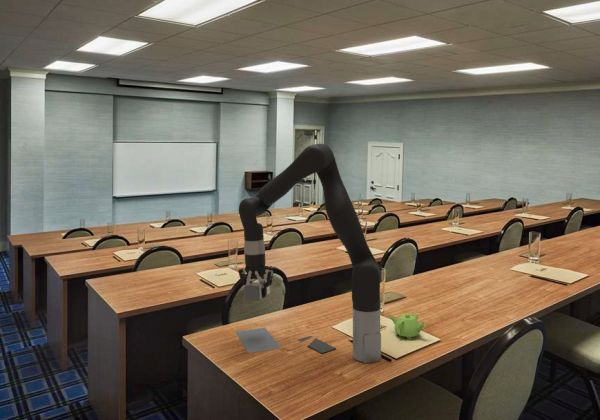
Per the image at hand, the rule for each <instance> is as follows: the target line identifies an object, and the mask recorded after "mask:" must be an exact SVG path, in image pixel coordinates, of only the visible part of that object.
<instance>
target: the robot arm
mask: <svg viewBox="0 0 600 420" xmlns="http://www.w3.org/2000/svg"><path fill="white" fill-rule="evenodd" d="M333 152H334V151H332V149H331V148H330V146H328V145H327V144H325V143H315V144H310V145H308V146H306V147H305V148H304V149H303V150H302V152H300V153H299V155H297V157H296V158H295V159H294V161H292V163H290V165H289V166H287V167H286V168H285V169H284V170H282V171H281V172H280V173H279V174H277V175H276V176H275V177H273V178H272V179H270V180H269V181H268V182H266V184H264V185H263V186H262V187H261V188H259V190H258V194H256V195H255V196H252V197H246V198H244V199H242V200H241V201H240V203H239V205H238V214H239V215H238V216H239V218H240V221H241V226H242V228H243V236H244V237H243V239H244V242H243V243H244V244H243V247H244V248H243V249H244V251H243V252H244V265H245V267H241V268H240V269H237V272H238V276H239V279H240V282H241V285H242V286H244V287H245V286H247V285H249V284H250V283H252V282H254V281H255V280H258V281H259V283H260V284H261V287H262V288H261V294H262V299H265V298H266V297H267V296H268V295H267V287H269V286H270V287H271V286H272V284H273V278H274V274H275V273H274V270H273V269H271V270H270V269H267V267H266V246H265V239H264V238H265V237H264V227H263V224H262V223H260V222H258V220H257V217H259V216H261V215H263V214H264V213H265V212H267V211H269V209H270V208H271V206H272V205H273V204H275V203H277V201H279V200H280V199H281V198H283V197H284V196H285V195H287V194H288V193H289V191H290V190H292V189H293V188H294V186H296V184H298V183H299V182H301V181H302V180H304V179H305V178H308V177H309V176H311V175H314V174H315V173H316V176H317V177H318V179H319V181H320V184H321V186H322V190H323V199H324V208H325V213H326V215H327V218H328V220H329V223H330V225H331V227H332V230H333V232H334V233H335V235H336V237H338V239H339V241H340V242H341V244H342V245H343V247H344V248H345V249H346V251H347V254H348V258H349V259H350V262H351V267H352V273H351V302H352V358H353V359H354V360H355V361H357V362H362V363H363V364H369V363H374V362H380V361H382V333H381V276H382V275H381V274H382V273H381V272H382V271H381V269H380V266H379V264H378V261H377V260H376V258H375V256H374V255H373V253H372V250H371V249H370V247H369V245H368V243H367V240H366V238H365V234H364V230H363V228H362V224H361V221H360V219H359V217H358V214H357V212H356V208H355V207H354V204H353V202H352V200H351V198H350V196H349V193H348V192H347V189H346V186H345V184H344V182H343V179H342V177H341V175H340V171H339V168H338V164H337V161H336V158H335V155H334V153H333ZM265 275H266V276H265Z"/></svg>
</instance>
